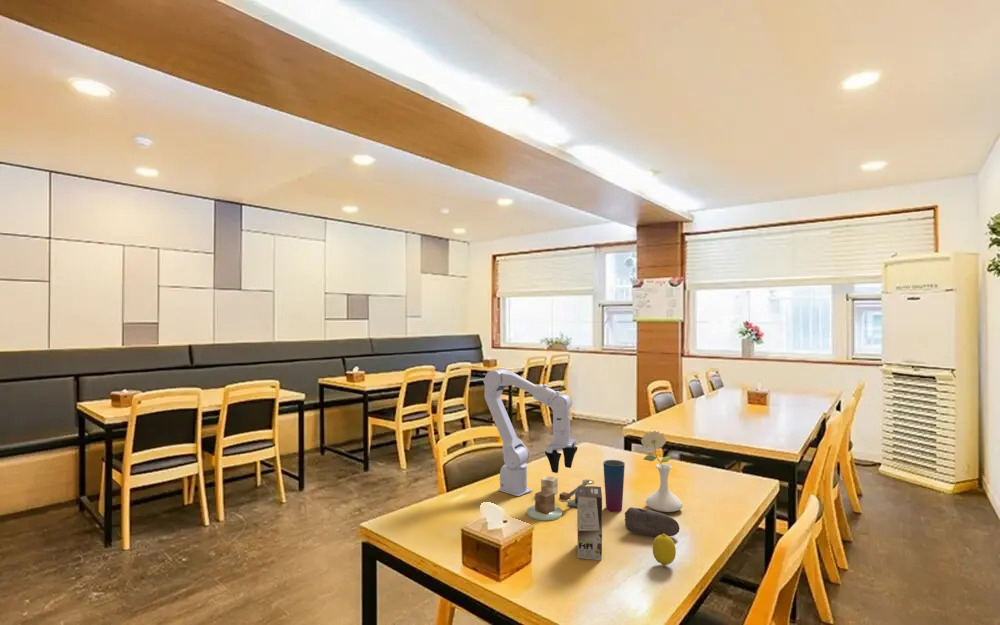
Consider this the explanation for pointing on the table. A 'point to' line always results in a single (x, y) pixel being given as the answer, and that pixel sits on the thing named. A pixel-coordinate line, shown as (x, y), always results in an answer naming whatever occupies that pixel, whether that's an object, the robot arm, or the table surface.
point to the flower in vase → (663, 496)
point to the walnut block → (545, 502)
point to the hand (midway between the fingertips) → (561, 469)
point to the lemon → (664, 549)
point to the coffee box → (589, 522)
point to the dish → (544, 517)
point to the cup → (614, 484)
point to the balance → (566, 496)
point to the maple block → (549, 484)
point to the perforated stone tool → (650, 522)
